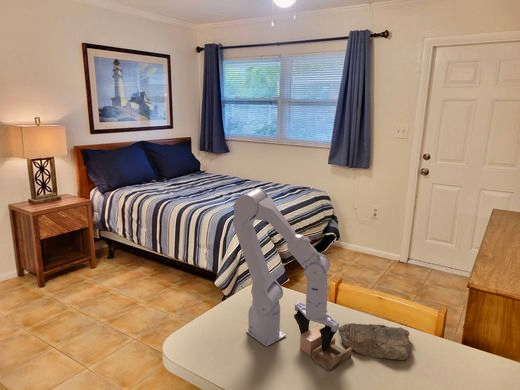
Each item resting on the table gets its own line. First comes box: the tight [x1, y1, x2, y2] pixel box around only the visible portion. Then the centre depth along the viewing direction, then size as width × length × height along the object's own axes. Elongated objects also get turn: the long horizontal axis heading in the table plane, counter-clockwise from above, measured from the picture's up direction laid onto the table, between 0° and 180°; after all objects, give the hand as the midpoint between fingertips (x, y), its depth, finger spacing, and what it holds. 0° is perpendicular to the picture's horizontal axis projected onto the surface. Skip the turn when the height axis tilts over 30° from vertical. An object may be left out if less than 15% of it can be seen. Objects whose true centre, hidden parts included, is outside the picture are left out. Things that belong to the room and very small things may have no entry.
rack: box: [311, 337, 353, 372], centre depth 103 cm, size 9×6×3 cm
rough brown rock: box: [338, 322, 411, 361], centre depth 109 cm, size 14×5×20 cm
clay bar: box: [299, 325, 323, 357], centre depth 108 cm, size 7×4×4 cm, turn 130°
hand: (314, 342), depth 108 cm, fingers open, 7 cm apart
